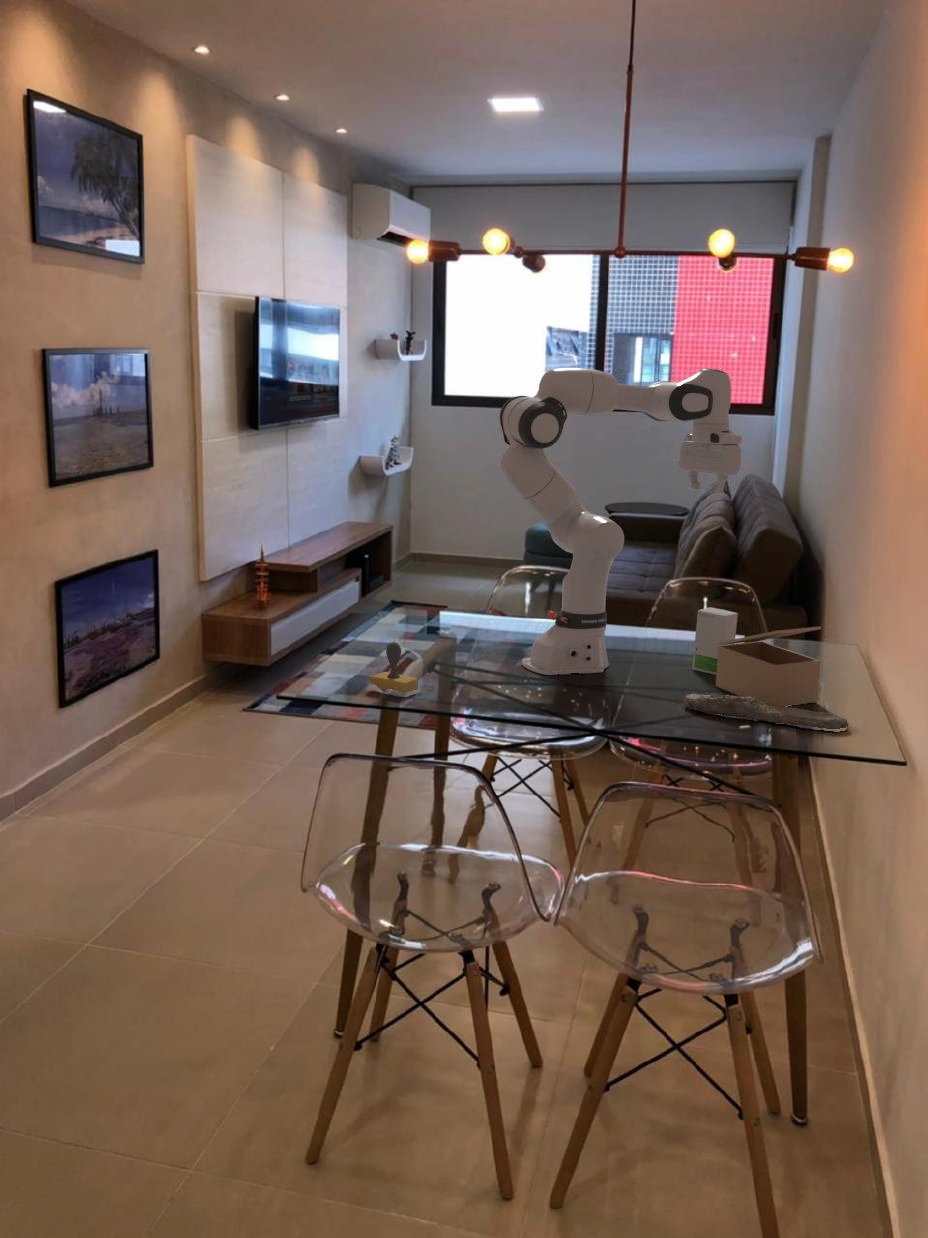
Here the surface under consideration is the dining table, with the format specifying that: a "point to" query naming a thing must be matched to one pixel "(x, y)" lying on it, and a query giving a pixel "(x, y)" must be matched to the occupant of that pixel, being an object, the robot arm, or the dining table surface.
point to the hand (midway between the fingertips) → (706, 490)
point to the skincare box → (712, 637)
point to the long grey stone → (762, 711)
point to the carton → (767, 673)
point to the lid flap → (769, 635)
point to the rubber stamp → (394, 673)
